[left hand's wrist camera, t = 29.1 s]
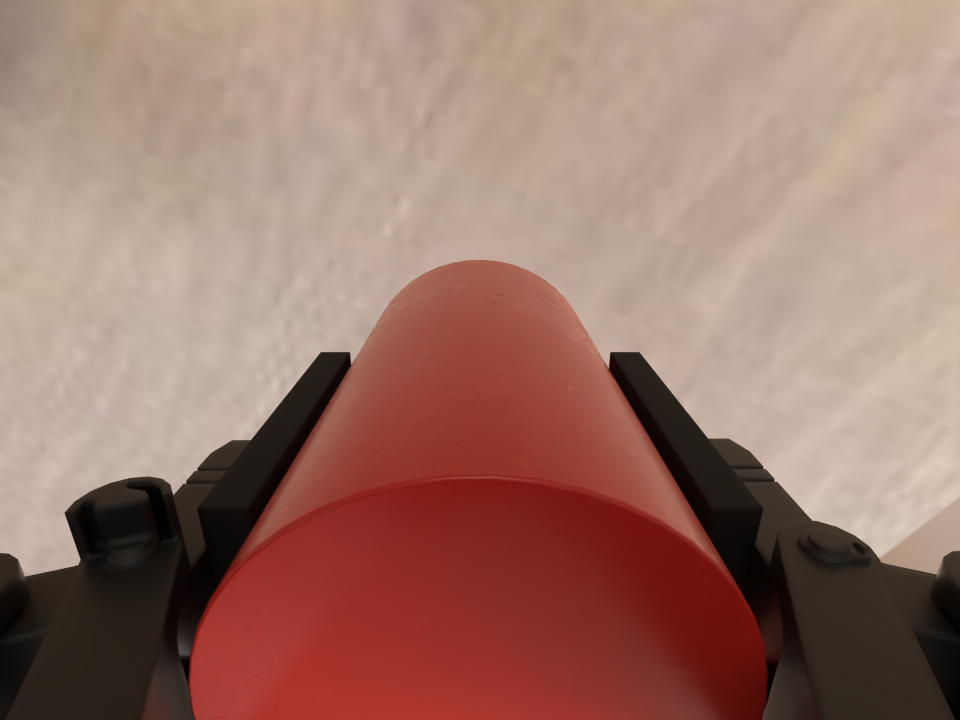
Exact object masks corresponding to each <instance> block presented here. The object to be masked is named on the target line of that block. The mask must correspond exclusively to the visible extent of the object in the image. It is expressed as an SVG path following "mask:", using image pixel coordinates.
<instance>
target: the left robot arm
mask: <svg viewBox="0 0 960 720" xmlns="http://www.w3.org/2000/svg"><path fill="white" fill-rule="evenodd" d="M350 367H351V359H350V352H321V353H320V354H319V355H318V357H317V358H316V359H315V360H314V362H313V363H312V364H311V365H310V367H309V368H308V369H307V371H306V372H305V373H304V374H303V376H302V377H301V378H300V379H299V381H298V382H297V383H296V384H295V386H294V387H293V388H292V389H291V391H290V392H289V393H288V394H287V396H286V397H285V398H284V399H283V401H282V402H281V403H280V404H279V406H278V407H277V408H276V409H275V411H274V412H273V413H272V414H271V416H270V417H269V418H268V420H267V421H266V422H265V423H264V425H263V426H262V427H261V428H260V430H259V431H258V432H257V433H256V435H255V436H254V437H253V438H252V440H232V441H230V442H229V443H227V444H225V445H224V446H222V447H220V448H219V449H217V450H215V451H214V452H212V453H211V454H210V455H209V456H208V457H207V458H206V459H205V460H204V462H203V463H202V464H201V465H200V466H199V467H198V470H197V471H195V472H194V473H193V474H192V475H191V476H190V477H189V478H188V479H187V481H186V484H183V485H182V486H181V487H180V488H179V490H178V491H177V492H176V493H175V494H174V495H173V493H172V489H171V485H170V484H169V483H167V482H166V481H165V480H163V479H160V478H154V477H137V478H128V479H124V480H121V481H117V482H113V483H109V484H107V485H105V486H102V487H100V488H97V489H95V490H93V491H90V492H89V493H87V494H86V495H84V496H83V497H81V498H80V499H78V500H76V501H75V502H74V503H73V504H72V505H71V506H70V507H69V508H68V510H67V511H66V512H65V515H66V518H67V521H68V524H69V527H70V530H71V533H72V536H73V539H74V542H75V544H76V547H77V550H78V553H79V556H80V559H81V561H80V563H79V565H77V566H73V567H69V568H64V569H59V570H55V571H50V572H45V573H40V574H36V575H31V576H26V577H25V576H24V573H23V571H22V568H21V566H20V563H19V561H18V559H16V558H15V557H13V556H12V555H10V554H5V553H0V720H194V717H193V714H192V711H191V703H190V696H189V688H188V677H189V660H190V652H191V648H192V644H193V640H194V636H195V633H196V629H197V626H198V623H199V621H200V619H201V617H202V615H203V613H204V611H205V609H206V606H207V604H208V602H209V600H210V598H211V597H212V595H213V593H214V592H215V590H216V588H217V587H218V585H219V583H220V582H221V580H222V578H223V577H224V575H225V573H226V572H227V570H228V568H229V567H230V565H231V564H232V562H233V560H234V559H235V557H236V555H237V554H238V552H239V550H240V549H241V547H242V545H243V544H244V542H245V540H246V539H247V537H248V535H249V534H250V532H251V530H252V529H253V527H254V525H255V524H256V522H257V520H258V519H259V517H260V516H261V514H262V512H263V511H264V509H265V507H266V506H267V504H268V502H269V501H270V499H271V497H272V496H273V494H274V492H275V491H276V489H277V487H278V486H279V484H280V482H281V481H282V479H283V477H284V476H285V474H286V473H287V471H288V469H289V468H290V466H291V464H292V463H293V461H294V459H295V458H296V456H297V454H298V453H299V451H300V449H301V448H302V446H303V444H304V443H305V441H306V439H307V438H308V436H309V434H310V433H311V431H312V430H313V428H314V426H315V425H316V423H317V421H318V420H319V418H320V416H321V415H322V413H323V411H324V410H325V408H326V406H327V405H328V403H329V401H330V400H331V398H332V396H333V395H334V393H335V391H336V390H337V388H338V387H339V385H340V383H341V382H342V380H343V378H344V377H345V375H346V373H347V372H348V370H349V368H350ZM609 370H610V372H611V374H612V375H613V377H614V379H615V380H616V382H617V384H618V386H619V387H620V389H621V391H622V392H623V394H624V396H625V397H626V399H627V401H628V402H629V404H630V406H631V407H632V409H633V411H634V412H635V414H636V416H637V417H638V419H639V421H640V423H641V424H642V426H643V428H644V429H645V431H646V433H647V434H648V436H649V438H650V439H651V441H652V443H653V444H654V446H655V448H656V449H657V451H658V453H659V454H660V456H661V458H662V459H663V461H664V463H665V465H666V466H667V468H668V470H669V471H670V473H671V475H672V476H673V478H674V480H675V481H676V483H677V485H678V486H679V488H680V490H681V491H682V493H683V495H684V496H685V498H686V500H687V502H688V503H689V505H690V507H691V508H692V510H693V512H694V513H695V515H696V517H697V518H698V520H699V522H700V523H701V525H702V527H703V528H704V530H705V532H706V533H707V535H708V537H709V539H710V540H711V542H712V544H713V545H714V547H715V549H716V550H717V552H718V554H719V555H720V557H721V559H722V560H723V562H724V564H725V565H726V567H727V569H728V570H729V572H730V574H731V576H732V577H733V579H734V581H735V582H736V584H737V586H738V587H739V589H740V591H741V593H742V594H743V596H744V598H745V600H746V602H747V603H748V605H749V607H750V609H751V611H752V612H753V614H754V616H755V618H756V621H757V624H758V627H759V630H760V633H761V636H762V639H763V642H764V647H765V654H766V662H767V670H768V684H767V701H766V705H765V709H764V713H763V717H762V720H960V551H953V552H951V553H949V554H948V555H946V556H945V557H943V560H942V562H941V565H940V567H939V570H938V572H937V575H936V574H931V573H926V572H922V571H917V570H912V569H907V568H903V567H898V566H893V565H888V564H885V563H881V562H880V560H879V558H878V557H877V555H876V554H875V553H874V552H873V550H872V549H871V548H870V547H869V546H868V545H867V544H865V543H864V542H863V541H861V540H860V539H859V538H857V537H856V536H854V535H852V534H850V533H848V532H846V531H844V530H842V529H840V528H838V527H835V526H832V525H828V524H825V523H821V522H818V521H812V520H811V519H810V518H809V517H808V516H807V514H806V513H805V512H804V511H803V510H802V509H801V508H800V507H799V506H798V504H797V503H796V502H795V501H794V500H793V499H792V498H791V497H790V496H789V494H788V493H787V492H786V491H785V490H784V489H783V488H782V487H781V486H780V484H779V483H778V482H775V481H774V478H773V477H772V476H771V474H770V473H769V472H768V471H767V470H766V469H763V466H762V465H761V463H760V462H759V461H758V460H757V459H756V458H755V457H754V456H753V455H752V453H751V452H750V451H748V450H746V449H745V448H743V447H742V446H740V445H738V444H737V443H735V442H733V441H732V440H730V439H708V438H707V437H706V435H705V434H704V433H703V432H702V430H701V429H700V428H699V427H698V425H697V424H696V423H695V422H694V420H693V419H692V418H691V417H690V415H689V414H688V413H687V412H686V410H685V409H684V408H683V406H682V405H681V404H680V403H679V401H678V400H677V399H676V398H675V396H674V395H673V394H672V393H671V391H670V390H669V389H668V388H667V386H666V385H665V384H664V383H663V381H662V380H661V379H660V378H659V376H658V375H657V374H656V373H655V371H654V370H653V369H652V368H651V366H650V365H649V364H648V363H647V361H646V360H645V359H644V357H643V356H642V355H641V354H640V352H611V353H610V363H609Z"/></svg>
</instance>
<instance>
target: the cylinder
mask: <svg viewBox="0 0 960 720" xmlns="http://www.w3.org/2000/svg"><path fill="white" fill-rule="evenodd" d="M767 684H768V670H767V662H766V654H765V647H764V642H763V639H762V636H761V633H760V630H759V627H758V624H757V621H756V618H755V616H754V614H753V612H752V611H751V609H750V607H749V605H748V603H747V602H746V600H745V598H744V596H743V594H742V593H741V591H740V589H739V587H738V586H737V584H736V582H735V581H734V579H733V577H732V576H731V574H730V572H729V570H728V569H727V567H726V565H725V564H724V562H723V560H722V559H721V557H720V555H719V554H718V552H717V550H716V549H715V547H714V545H713V544H712V542H711V540H710V539H709V537H708V535H707V533H706V532H705V530H704V528H703V527H702V525H701V523H700V522H699V520H698V518H697V517H696V515H695V513H694V512H693V510H692V508H691V507H690V505H689V503H688V502H687V500H686V498H685V496H684V495H683V493H682V491H681V490H680V488H679V486H678V485H677V483H676V481H675V480H674V478H673V476H672V475H671V473H670V471H669V470H668V468H667V466H666V465H665V463H664V461H663V459H662V458H661V456H660V454H659V453H658V451H657V449H656V448H655V446H654V444H653V443H652V441H651V439H650V438H649V436H648V434H647V433H646V431H645V429H644V428H643V426H642V424H641V423H640V421H639V419H638V417H637V416H636V414H635V412H634V411H633V409H632V407H631V406H630V404H629V402H628V401H627V399H626V397H625V396H624V394H623V392H622V391H621V389H620V387H619V386H618V384H617V382H616V380H615V379H614V377H613V375H612V374H611V372H610V370H609V369H608V367H607V365H606V364H605V362H604V360H603V359H602V357H601V355H600V354H599V352H598V350H597V349H596V347H595V345H594V343H593V342H592V340H591V338H590V337H589V335H588V333H587V332H586V330H585V328H584V327H583V325H582V323H581V322H580V320H579V318H578V317H577V315H576V313H575V312H574V310H573V308H572V307H571V306H570V304H569V303H568V302H567V300H566V299H565V298H564V297H563V296H562V295H561V294H560V293H559V292H558V291H557V290H556V289H555V288H554V287H553V286H552V285H550V284H549V283H548V282H546V281H545V280H544V279H542V278H541V277H539V276H537V275H535V274H533V273H532V272H530V271H528V270H525V269H523V268H520V267H517V266H515V265H511V264H507V263H503V262H498V261H488V260H468V261H462V262H455V263H451V264H448V265H444V266H441V267H438V268H436V269H433V270H431V271H429V272H427V273H425V274H423V275H421V276H420V277H418V278H416V279H415V280H413V281H412V282H411V283H409V284H408V285H407V286H406V287H404V288H403V289H402V290H401V291H400V292H399V293H398V294H397V295H396V296H395V297H394V299H393V300H392V301H391V302H390V303H389V305H388V306H387V308H386V309H385V311H384V312H383V314H382V315H381V317H380V319H379V320H378V322H377V324H376V325H375V327H374V329H373V330H372V332H371V334H370V335H369V337H368V339H367V340H366V342H365V343H364V345H363V347H362V348H361V350H360V352H359V353H358V355H357V357H356V358H355V360H354V362H353V363H352V365H351V367H350V368H349V370H348V372H347V373H346V375H345V377H344V378H343V380H342V382H341V383H340V385H339V387H338V388H337V390H336V391H335V393H334V395H333V396H332V398H331V400H330V401H329V403H328V405H327V406H326V408H325V410H324V411H323V413H322V415H321V416H320V418H319V420H318V421H317V423H316V425H315V426H314V428H313V430H312V431H311V433H310V434H309V436H308V438H307V439H306V441H305V443H304V444H303V446H302V448H301V449H300V451H299V453H298V454H297V456H296V458H295V459H294V461H293V463H292V464H291V466H290V468H289V469H288V471H287V473H286V474H285V476H284V477H283V479H282V481H281V482H280V484H279V486H278V487H277V489H276V491H275V492H274V494H273V496H272V497H271V499H270V501H269V502H268V504H267V506H266V507H265V509H264V511H263V512H262V514H261V516H260V517H259V519H258V520H257V522H256V524H255V525H254V527H253V529H252V530H251V532H250V534H249V535H248V537H247V539H246V540H245V542H244V544H243V545H242V547H241V549H240V550H239V552H238V554H237V555H236V557H235V559H234V560H233V562H232V564H231V565H230V567H229V568H228V570H227V572H226V573H225V575H224V577H223V578H222V580H221V582H220V583H219V585H218V587H217V588H216V590H215V592H214V593H213V595H212V597H211V598H210V600H209V602H208V604H207V606H206V609H205V611H204V613H203V615H202V617H201V619H200V621H199V623H198V626H197V629H196V633H195V636H194V640H193V644H192V648H191V652H190V660H189V677H188V688H189V696H190V703H191V711H192V714H193V717H194V720H762V717H763V713H764V709H765V705H766V701H767Z"/></svg>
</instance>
